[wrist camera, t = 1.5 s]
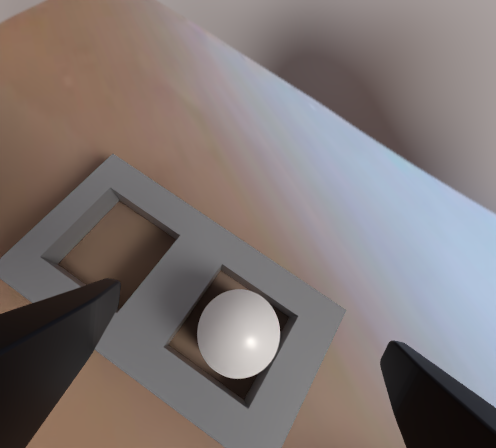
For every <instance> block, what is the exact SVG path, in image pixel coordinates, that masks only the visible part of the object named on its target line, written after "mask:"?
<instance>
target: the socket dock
mask: <svg viewBox="0 0 496 448" xmlns="http://www.w3.org/2000/svg"><path fill="white" fill-rule="evenodd" d="M119 200H120V201H121V202H122V203H124V204H125V205H127V206H128V207H130V208H131V209H133V210H134V211H136V212H137V213H138V214H140V215H141V216H143V217H144V218H146V219H147V220H149V221H150V222H152V223H153V224H154V225H156V226H157V227H159V228H160V229H162V230H163V231H165V232H166V233H168V234H169V235H170V236H172V237H173V238H175V239H176V241H175V243H174V244H173V245H172V246H171V247H170V249H169V250H168V251H167V252H166V254H165V255H164V256H163V257H162V259H161V260H160V261H159V262H158V263H157V265H156V266H155V267H154V268H153V270H152V271H151V272H150V273H149V275H148V276H147V277H146V278H145V279H144V281H143V282H142V283H141V284H140V286H139V287H138V288H137V289H136V291H135V292H134V293H133V294H132V295H131V297H130V298H129V299H128V300H127V302H126V303H125V304H124V305H123V307H122V308H121V309H118V308H117V310H116V312H115V314H114V316H113V317H112V319H111V321H110V323H109V325H108V326H107V328H106V330H105V332H104V333H103V335H102V337H101V339H100V341H99V342H98V344H97V346H96V348H95V350H96V351H97V352H99V353H100V354H101V355H103V356H104V357H105V358H107V359H108V360H109V361H111V362H112V363H113V364H115V365H116V366H117V367H119V368H120V369H121V370H123V371H124V372H125V373H127V374H128V375H129V376H131V377H132V378H133V379H135V380H136V381H137V382H139V383H140V384H141V385H142V386H144V387H145V388H146V389H148V390H149V391H150V392H152V393H153V394H154V395H156V396H157V397H158V398H160V399H161V400H162V401H164V402H165V403H166V404H168V405H169V406H170V407H172V408H173V409H174V410H176V411H177V412H178V413H180V414H181V415H182V416H184V417H185V418H186V419H188V420H189V421H190V422H192V423H193V424H194V425H196V426H197V427H198V428H200V429H201V430H202V431H204V432H205V433H206V434H208V435H209V436H210V437H212V438H213V439H214V440H216V441H217V442H218V443H220V444H221V445H222V446H224V447H225V448H282V445H283V443H284V441H285V439H286V437H287V435H288V433H289V431H290V429H291V426H292V424H293V422H294V420H295V418H296V416H297V414H298V412H299V409H300V407H301V405H302V403H303V401H304V399H305V397H306V395H307V393H308V390H309V388H310V386H311V384H312V382H313V380H314V378H315V376H316V373H317V371H318V369H319V367H320V365H321V363H322V361H323V359H324V356H325V354H326V352H327V350H328V348H329V346H330V344H331V342H332V340H333V337H334V335H335V333H336V331H337V329H338V327H339V325H340V323H341V320H342V318H343V316H344V314H345V312H346V310H345V309H344V308H342V307H341V306H339V305H338V304H336V303H335V302H333V301H332V300H330V299H329V298H327V297H326V296H324V295H323V294H321V293H320V292H319V291H317V290H316V289H314V288H313V287H311V286H310V285H308V284H307V283H305V282H304V281H302V280H301V279H299V278H298V277H296V276H295V275H293V274H292V273H290V272H289V271H287V270H286V269H284V268H283V267H281V266H280V265H278V264H277V263H275V262H274V261H272V260H271V259H269V258H268V257H266V256H265V255H263V254H262V253H260V252H259V251H257V250H256V249H254V248H253V247H251V246H250V245H248V244H247V243H245V242H244V241H242V240H241V239H240V238H238V237H237V236H235V235H234V234H232V233H231V232H229V231H228V230H226V229H225V228H223V227H222V226H220V225H219V224H217V223H216V222H214V221H213V220H211V219H210V218H208V217H207V216H205V215H204V214H202V213H201V212H199V211H198V210H196V209H195V208H193V207H192V206H190V205H189V204H187V203H186V202H184V201H183V200H181V199H180V198H178V197H177V196H175V195H174V194H172V193H171V192H169V191H168V190H166V189H165V188H163V187H162V186H161V185H159V184H158V183H156V182H155V181H153V180H152V179H150V178H149V177H147V176H146V175H144V174H143V173H141V172H140V171H138V170H137V169H135V168H134V167H132V166H131V165H129V164H128V163H126V162H125V161H123V160H122V159H120V158H119V157H117V156H116V155H114V154H112V155H111V156H110V157H109V158H108V159H107V160H105V161H104V162H103V163H102V164H101V165H100V166H99V167H98V168H97V169H96V170H95V171H94V172H93V173H92V174H90V175H89V176H88V177H87V178H86V179H85V180H84V181H83V182H82V183H81V184H80V185H79V186H78V187H76V188H75V189H74V190H73V191H72V192H71V193H70V194H69V195H68V196H67V197H66V198H65V199H64V200H63V201H61V202H60V203H59V204H58V205H57V206H56V207H55V208H54V209H53V210H52V211H51V212H50V213H49V214H47V215H46V216H45V217H44V218H43V219H42V220H41V221H40V222H39V223H38V224H37V225H36V226H35V227H34V228H32V229H31V230H30V231H29V232H28V233H27V234H26V235H25V236H24V237H23V238H22V239H21V240H20V241H18V242H17V243H16V244H15V245H14V246H13V247H12V248H11V249H10V250H9V251H8V252H7V253H6V254H4V255H3V256H2V257H1V258H0V279H1V280H3V281H4V282H5V283H7V284H8V285H9V286H11V287H12V288H13V289H15V290H16V291H17V292H19V293H20V294H21V295H23V296H24V297H25V298H27V299H28V300H29V301H31V302H32V303H35V302H38V301H41V300H44V299H47V298H49V297H52V296H55V295H58V294H61V293H64V292H67V291H70V290H73V289H76V288H79V287H82V286H85V284H84V283H83V282H81V281H80V280H79V279H77V278H76V277H75V276H73V275H72V274H70V273H69V272H68V271H66V270H65V269H64V268H62V267H61V266H59V265H58V263H59V262H60V261H61V260H62V259H63V258H64V257H65V256H66V255H67V254H68V253H69V252H70V251H71V250H72V249H73V248H74V247H75V246H76V245H77V244H78V243H79V242H80V240H81V239H82V238H83V237H84V236H85V235H86V234H87V233H88V232H89V231H90V230H91V229H92V228H93V227H94V226H95V225H96V224H97V223H98V222H99V221H100V220H101V219H102V218H103V217H104V216H105V215H106V214H107V213H108V212H109V211H110V210H111V209H112V208H113V207H114V206H115V204H116V203H117V202H118V201H119ZM220 270H221V271H223V272H224V273H226V274H227V275H229V276H230V277H232V278H233V279H235V280H236V281H237V282H239V283H240V284H242V285H243V286H245V287H246V288H248V289H249V290H251V291H249V290H243V289H236V290H230V291H226V292H224V293H222V294H220V295H218V296H217V297H215V298H214V299H213V300H212V301H211V302H210V303H209V304H208V305H207V306H206V308H205V309H204V311H203V313H202V315H201V317H200V320H199V323H198V329H197V339H198V346H199V349H200V352H201V354H202V356H203V358H204V360H205V361H206V363H207V364H208V365H209V366H210V367H211V368H212V369H213V370H214V371H216V372H217V373H219V374H220V375H223V376H225V377H229V378H234V379H243V378H248V377H251V376H254V375H256V374H257V373H258V375H257V377H256V379H255V380H254V382H253V384H252V386H251V388H250V390H249V391H248V393H247V395H246V397H245V399H244V400H243V399H242V398H241V397H239V396H238V395H236V394H235V393H234V392H232V391H231V390H230V389H228V388H227V387H225V386H224V385H223V384H221V383H220V382H219V381H217V380H216V379H214V378H213V377H212V376H210V375H209V374H208V373H206V372H205V371H204V370H202V369H201V368H199V367H198V366H197V365H195V364H194V363H193V362H191V361H190V360H188V359H187V358H186V357H184V356H183V355H182V354H180V353H179V352H177V351H176V350H175V349H173V348H172V347H171V346H169V345H168V344H169V343H170V342H171V340H172V339H173V337H174V336H175V334H176V333H177V332H178V330H179V329H180V327H181V326H182V324H183V323H184V322H185V320H186V319H187V317H188V316H189V314H190V313H191V312H192V310H193V309H194V307H195V306H196V305H197V303H198V302H199V300H200V299H201V297H202V296H203V295H204V293H205V292H206V290H207V289H208V287H209V286H210V285H211V283H212V282H213V280H214V279H215V277H216V276H217V275H218V273H219V272H220ZM270 304H271V305H272V306H274V307H275V308H277V309H278V310H280V311H281V312H283V313H284V314H285V315H287V316H288V317H289V319H288V321H287V322H286V324H285V326H284V328H283V330H282V331H281V333H280V327H279V322H278V318H277V316H276V313H275V311H274V310H273V308H272V306H271V305H270Z"/></svg>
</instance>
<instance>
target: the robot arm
mask: <svg viewBox="0 0 496 448" xmlns="http://www.w3.org/2000/svg"><path fill="white" fill-rule="evenodd" d="M120 288H121V283H120V281H118V280H114V279H109V278H106V279H103V280H100V281H97V282H94V283H91V284H88V285H85V286H82V287H79V288H76V289H73V290H70V291H67V292H64V293H61V294H58V295H55V296H52V297H49V298H47V299H44V300H41V301H38V302H35V303H32V304H29V305H26V306H23V307H20V308H17V309H14V310H11V311H8V312H5V313H2V314H0V448H26V446H27V445H28V443H29V442H30V440H31V439H32V438H33V436H34V435H35V433H36V432H37V431H38V429H39V428H40V426H41V425H42V424H43V422H44V421H45V419H46V418H47V417H48V415H49V414H50V412H51V411H52V410H53V408H54V407H55V405H56V404H57V403H58V401H59V400H60V398H61V397H62V395H63V394H64V393H65V391H66V390H67V388H68V387H69V386H70V384H71V383H72V381H73V380H74V379H75V377H76V376H77V374H78V373H79V372H80V370H81V369H82V367H83V366H84V365H85V363H86V362H87V360H88V359H89V357H90V356H91V354H92V353H93V351H94V349H95V348H96V346H97V344H98V342H99V341H100V339H101V337H102V335H103V333H104V332H105V330H106V328H107V326H108V325H109V323H110V321H111V319H112V317H113V316H114V314H115V312H116V310H117V308H118V304H119V296H120ZM380 366H381V370H382V374H383V377H384V381H385V385H386V388H387V392H388V395H389V399H390V402H391V406H392V409H393V412H394V415H395V418H396V421H397V424H398V427H399V429H400V432H401V434H402V437H403V440H404V442H405V445H406V448H496V408H495V407H494V406H492V405H491V404H489V403H488V402H487V401H485V400H484V399H482V398H481V397H480V396H478V395H477V394H475V393H474V392H473V391H471V390H470V389H468V388H467V387H466V386H464V385H463V384H461V383H460V382H459V381H457V380H456V379H454V378H453V377H452V376H450V375H449V374H447V373H446V372H445V371H443V370H442V369H440V368H439V367H438V366H436V365H435V364H433V363H432V362H431V361H429V360H428V359H426V358H425V357H423V356H422V355H421V354H419V353H418V352H416V351H415V350H414V349H412V348H411V347H409V346H408V345H407V344H405V343H403V342H398V341H390V342H389V344H388V345H387V348H386V350H385V352H384V354H383V356H382V358H381V361H380Z"/></svg>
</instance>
